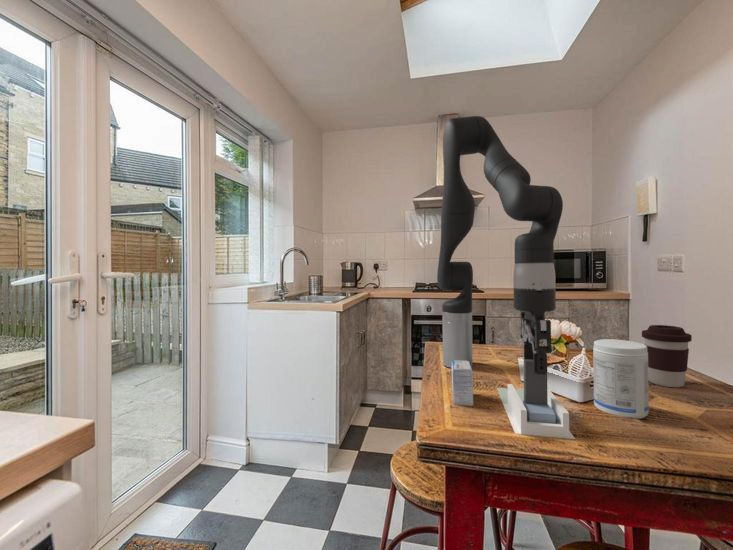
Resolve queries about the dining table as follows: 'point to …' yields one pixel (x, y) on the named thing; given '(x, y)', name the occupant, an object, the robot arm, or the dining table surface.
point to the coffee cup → (667, 354)
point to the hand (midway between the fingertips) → (534, 367)
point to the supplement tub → (621, 377)
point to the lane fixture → (518, 420)
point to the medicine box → (462, 383)
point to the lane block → (536, 396)
